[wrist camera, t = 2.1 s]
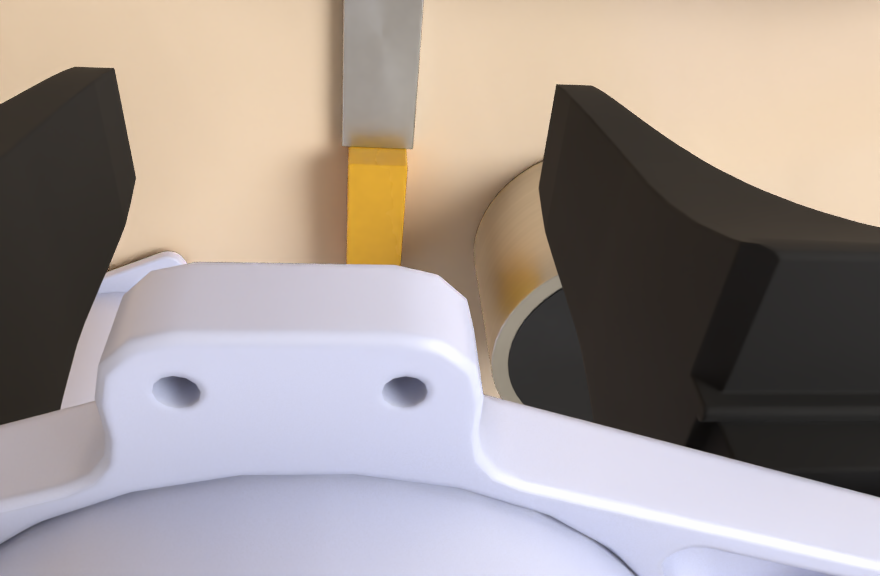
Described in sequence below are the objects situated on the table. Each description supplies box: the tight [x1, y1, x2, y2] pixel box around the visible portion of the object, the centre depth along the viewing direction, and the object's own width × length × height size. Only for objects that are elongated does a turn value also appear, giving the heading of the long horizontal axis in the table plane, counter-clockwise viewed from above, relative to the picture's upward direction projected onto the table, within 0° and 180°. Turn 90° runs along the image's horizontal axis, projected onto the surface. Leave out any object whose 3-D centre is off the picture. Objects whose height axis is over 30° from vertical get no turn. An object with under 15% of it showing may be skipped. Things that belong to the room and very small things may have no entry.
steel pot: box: [474, 161, 594, 423], centre depth 29 cm, size 15×8×6 cm, turn 175°
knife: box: [342, 0, 424, 266], centre depth 24 cm, size 12×2×1 cm, turn 175°
